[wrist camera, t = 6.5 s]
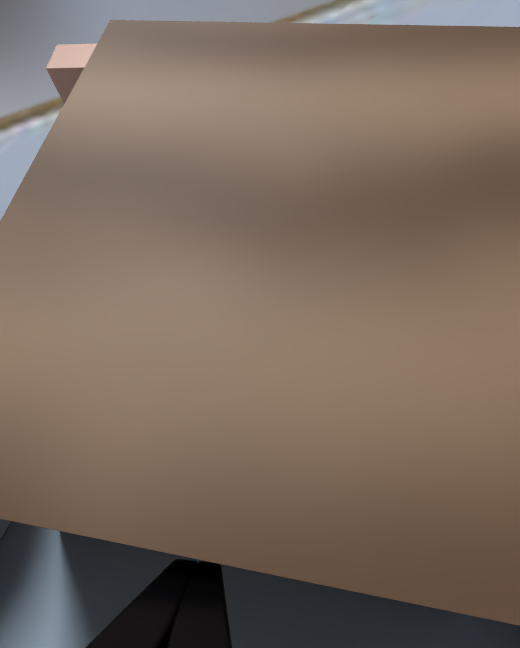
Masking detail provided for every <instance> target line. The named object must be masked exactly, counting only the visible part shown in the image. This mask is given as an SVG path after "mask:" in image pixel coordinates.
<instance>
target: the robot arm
mask: <svg viewBox="0 0 520 648" xmlns="http://www.w3.org/2000/svg"><path fill="white" fill-rule="evenodd" d="M86 648H232V644H231V637H230V629H229V622H228V614H227V607H226V599H225V591H224V584H223V576H222V569H221V565H220V564H218V563H212V562H202V561H201V562H198V563H197V562H196V561H192V560H182V559H177V560H174V561H173V562H172V563H171V564H170V565H169V566H168V567H167V568H166V569H165V570H164V571H163V572H162V573H161V574H160V575H159V576H158V577H157V578H156V579H155V580H154V581H153V582H152V583H150V584H149V585H148V586H147V587H146V588H145V589H144V590H143V591H142V592H141V593H140V594H139V595H138V596H137V597H136V598H135V599H134V600H133V601H132V602H131V603H130V604H129V605H128V606H127V607H126V608H125V609H124V610H123V611H122V612H121V613H120V614H119V615H118V616H117V617H116V618H115V619H114V620H113V621H112V622H111V623H110V624H109V625H108V626H107V627H106V628H105V629H104V630H103V631H102V632H101V633H100V634H99V635H98V636H97V637H96V638H95V639H94V640H93V641H92V642H91V643H90V644H89V645H88V646H87V647H86Z"/></svg>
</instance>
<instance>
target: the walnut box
mask: <svg viewBox="0 0 520 648" xmlns="http://www.w3.org/2000/svg"><path fill="white" fill-rule="evenodd" d="M0 519H4V520H9V521H14V522H19V523H24V524H29V525H33V526H38V527H43V528H48V529H53V530H58V531H63V532H67V533H72V534H77V535H82V536H87V537H92V538H97V539H101V540H106V541H111V542H116V543H121V544H126V545H131V546H135V547H140V548H145V549H150V550H155V551H160V552H165V553H169V554H174V555H179V556H184V557H189V558H194V559H199V560H203V561H208V562H213V563H218V564H223V565H228V566H233V567H237V568H242V569H247V570H252V571H257V572H262V573H267V574H271V575H276V576H281V577H286V578H291V579H296V580H301V581H305V582H310V583H315V584H320V585H325V586H330V587H334V588H339V589H344V590H349V591H354V592H359V593H364V594H368V595H373V596H378V597H383V598H388V599H393V600H398V601H402V602H407V603H412V604H417V605H422V606H427V607H432V608H436V609H441V610H446V611H451V612H456V613H461V614H466V615H470V616H475V617H480V618H485V619H490V620H495V621H500V622H504V623H509V624H514V625H519V626H520V27H484V26H426V25H367V24H309V23H250V22H249V23H248V22H247V23H246V22H192V21H190V22H188V21H133V20H129V21H127V20H110V22H109V23H108V25H107V27H106V29H105V31H104V33H103V34H102V36H101V38H100V40H99V42H98V44H97V45H96V47H95V49H94V51H93V53H92V55H91V56H90V58H89V60H88V62H87V64H86V66H85V67H84V69H83V71H82V73H81V75H80V77H79V78H78V80H77V82H76V84H75V86H74V87H73V89H72V91H71V93H70V95H69V97H68V98H67V100H66V102H65V104H64V106H63V108H62V109H61V111H60V113H59V115H58V117H57V119H56V120H55V122H54V124H53V126H52V128H51V130H50V131H49V133H48V135H47V137H46V139H45V141H44V142H43V144H42V146H41V148H40V150H39V152H38V153H37V155H36V157H35V159H34V161H33V162H32V164H31V166H30V168H29V170H28V172H27V173H26V175H25V177H24V179H23V181H22V183H21V184H20V186H19V188H18V190H17V192H16V194H15V195H14V197H13V199H12V201H11V203H10V205H9V206H8V208H7V210H6V212H5V214H4V216H3V217H2V219H1V221H0Z"/></svg>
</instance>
